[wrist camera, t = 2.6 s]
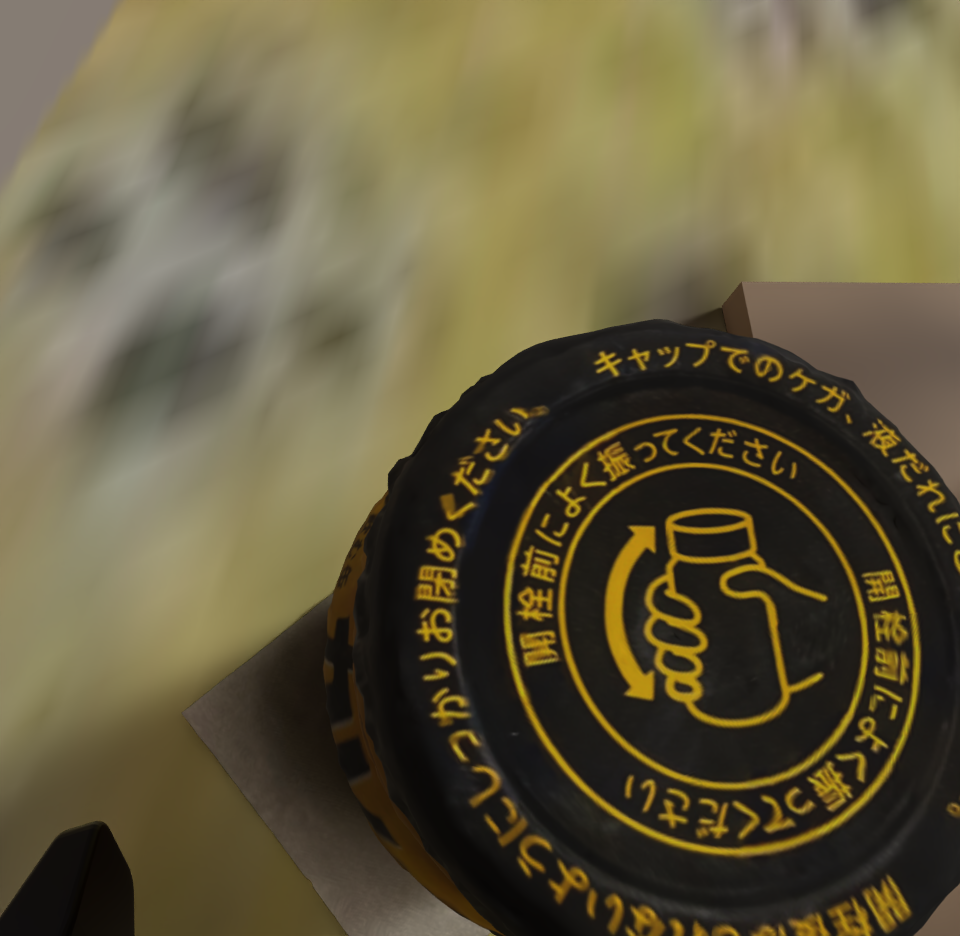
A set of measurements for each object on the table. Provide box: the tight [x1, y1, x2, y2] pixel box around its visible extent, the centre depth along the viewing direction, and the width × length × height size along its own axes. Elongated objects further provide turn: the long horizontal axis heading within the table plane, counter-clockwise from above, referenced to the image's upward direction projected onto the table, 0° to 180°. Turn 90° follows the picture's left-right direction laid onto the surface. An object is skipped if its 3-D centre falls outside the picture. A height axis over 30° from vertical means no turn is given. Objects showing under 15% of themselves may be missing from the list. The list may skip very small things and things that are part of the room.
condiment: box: [182, 319, 960, 936], centre depth 11 cm, size 7×8×12 cm
